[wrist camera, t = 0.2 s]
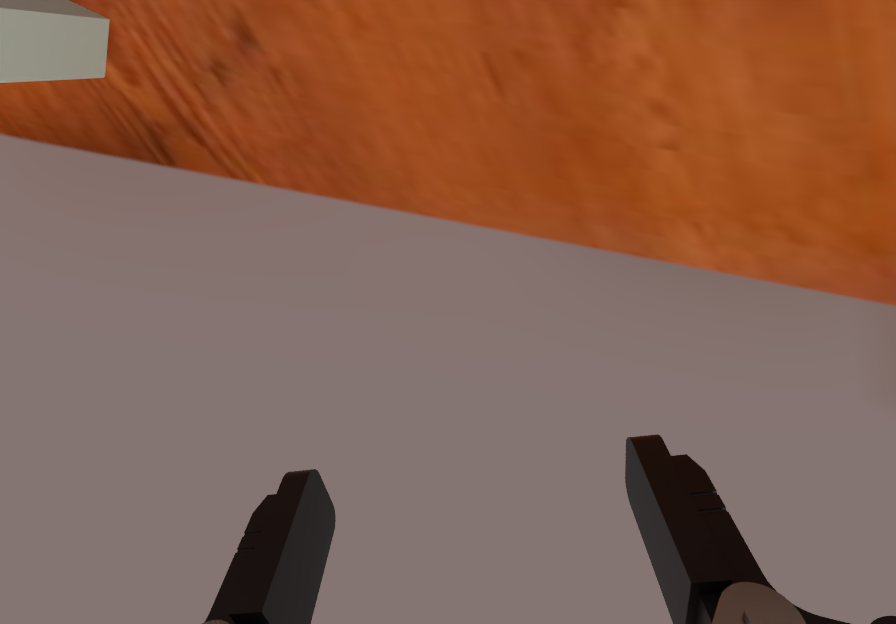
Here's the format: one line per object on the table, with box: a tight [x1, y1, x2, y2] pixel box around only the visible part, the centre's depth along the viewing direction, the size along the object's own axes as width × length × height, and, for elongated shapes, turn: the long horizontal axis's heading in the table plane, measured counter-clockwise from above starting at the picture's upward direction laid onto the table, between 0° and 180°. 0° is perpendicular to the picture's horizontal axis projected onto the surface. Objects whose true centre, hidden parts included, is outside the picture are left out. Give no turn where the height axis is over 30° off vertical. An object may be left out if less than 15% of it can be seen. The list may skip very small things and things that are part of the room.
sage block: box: [0, 0, 109, 83], centre depth 29 cm, size 4×4×10 cm
